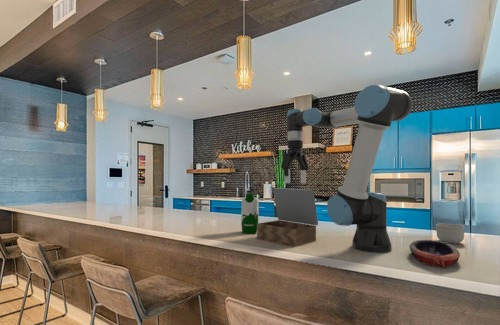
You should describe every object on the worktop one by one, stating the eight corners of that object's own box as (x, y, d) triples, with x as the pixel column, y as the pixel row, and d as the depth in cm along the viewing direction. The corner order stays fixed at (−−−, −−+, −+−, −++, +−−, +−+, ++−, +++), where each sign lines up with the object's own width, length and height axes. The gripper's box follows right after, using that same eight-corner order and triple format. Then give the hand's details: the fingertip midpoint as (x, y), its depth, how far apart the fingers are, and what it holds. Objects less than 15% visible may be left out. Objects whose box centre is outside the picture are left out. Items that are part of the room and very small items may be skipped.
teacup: (469, 245, 130) (468, 227, 131) (441, 244, 133) (441, 226, 133) (454, 239, 144) (454, 222, 144) (429, 238, 146) (429, 221, 147)
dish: (454, 252, 119) (454, 240, 119) (465, 275, 92) (464, 258, 93) (410, 248, 127) (410, 236, 127) (408, 267, 100) (408, 251, 100)
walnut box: (316, 241, 137) (316, 225, 137) (294, 246, 125) (294, 230, 126) (278, 234, 152) (279, 220, 153) (257, 238, 141) (257, 223, 141)
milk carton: (240, 233, 152) (240, 194, 153) (242, 230, 161) (242, 193, 162) (257, 234, 151) (257, 194, 152) (258, 231, 160) (259, 193, 161)
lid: (316, 225, 137) (318, 224, 138) (311, 190, 134) (313, 189, 135) (278, 219, 153) (280, 218, 154) (272, 188, 151) (274, 187, 152)
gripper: (302, 143, 161) (303, 182, 160) (273, 138, 143) (273, 183, 142) (314, 142, 156) (315, 182, 155) (286, 137, 138) (286, 183, 137)
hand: (295, 183), depth 148 cm, fingers open, 13 cm apart
